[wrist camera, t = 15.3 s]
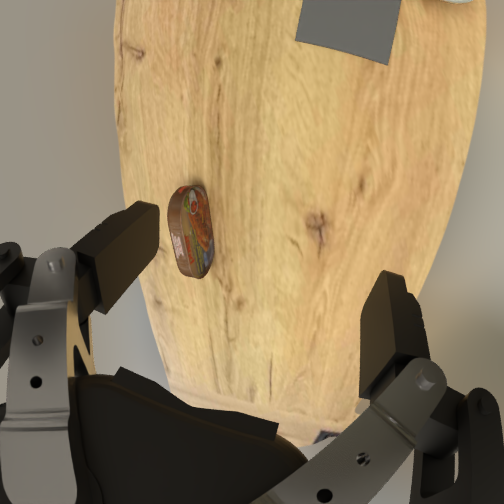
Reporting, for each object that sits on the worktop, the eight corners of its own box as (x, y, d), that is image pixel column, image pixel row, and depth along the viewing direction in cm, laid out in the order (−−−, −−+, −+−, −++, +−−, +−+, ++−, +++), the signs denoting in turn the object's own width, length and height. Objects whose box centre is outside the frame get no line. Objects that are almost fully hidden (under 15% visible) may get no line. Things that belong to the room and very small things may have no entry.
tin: (216, 260, 54) (198, 290, 47) (200, 258, 55) (180, 288, 48) (205, 177, 46) (181, 198, 39) (187, 177, 47) (160, 198, 40)
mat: (295, 40, 32) (294, 40, 32) (310, -36, 26) (310, -36, 25) (387, 65, 31) (387, 65, 31) (402, -12, 24) (403, -12, 24)
